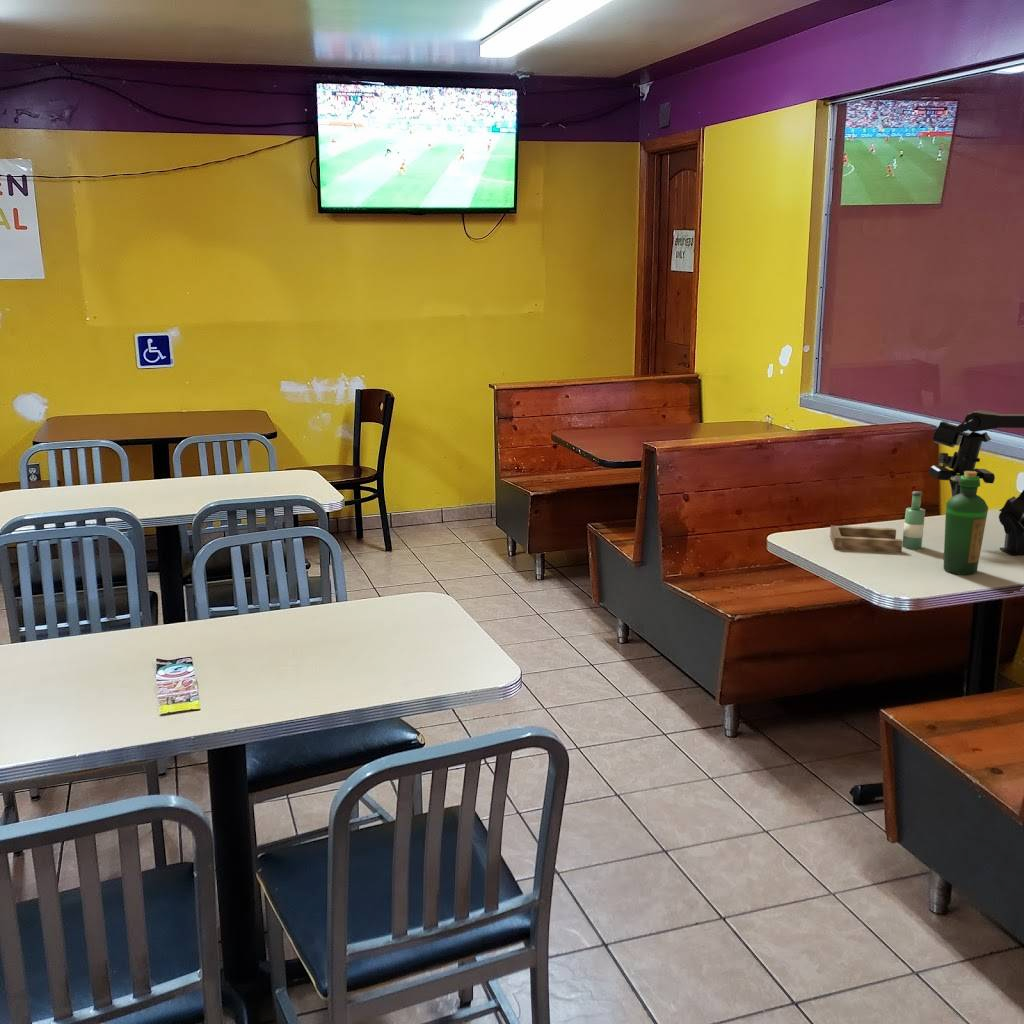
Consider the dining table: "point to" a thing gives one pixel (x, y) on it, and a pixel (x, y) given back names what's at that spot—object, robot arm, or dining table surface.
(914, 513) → the bottle
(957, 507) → the bottle
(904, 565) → the dining table surface
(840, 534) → the cradle
